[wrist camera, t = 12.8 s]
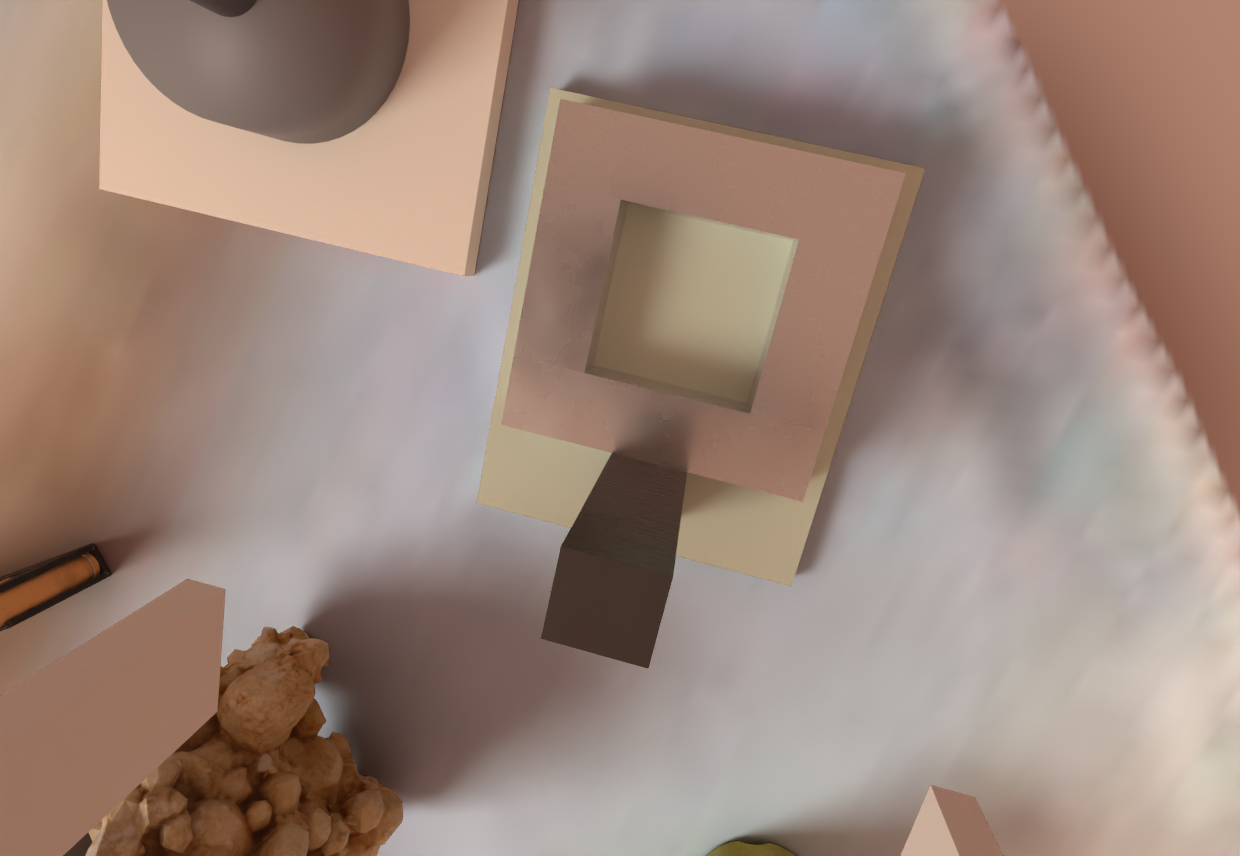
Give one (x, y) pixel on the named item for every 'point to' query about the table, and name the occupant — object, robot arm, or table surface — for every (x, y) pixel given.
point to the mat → (685, 360)
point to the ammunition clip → (48, 584)
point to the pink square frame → (664, 413)
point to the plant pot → (749, 850)
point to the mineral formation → (257, 773)
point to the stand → (312, 116)
